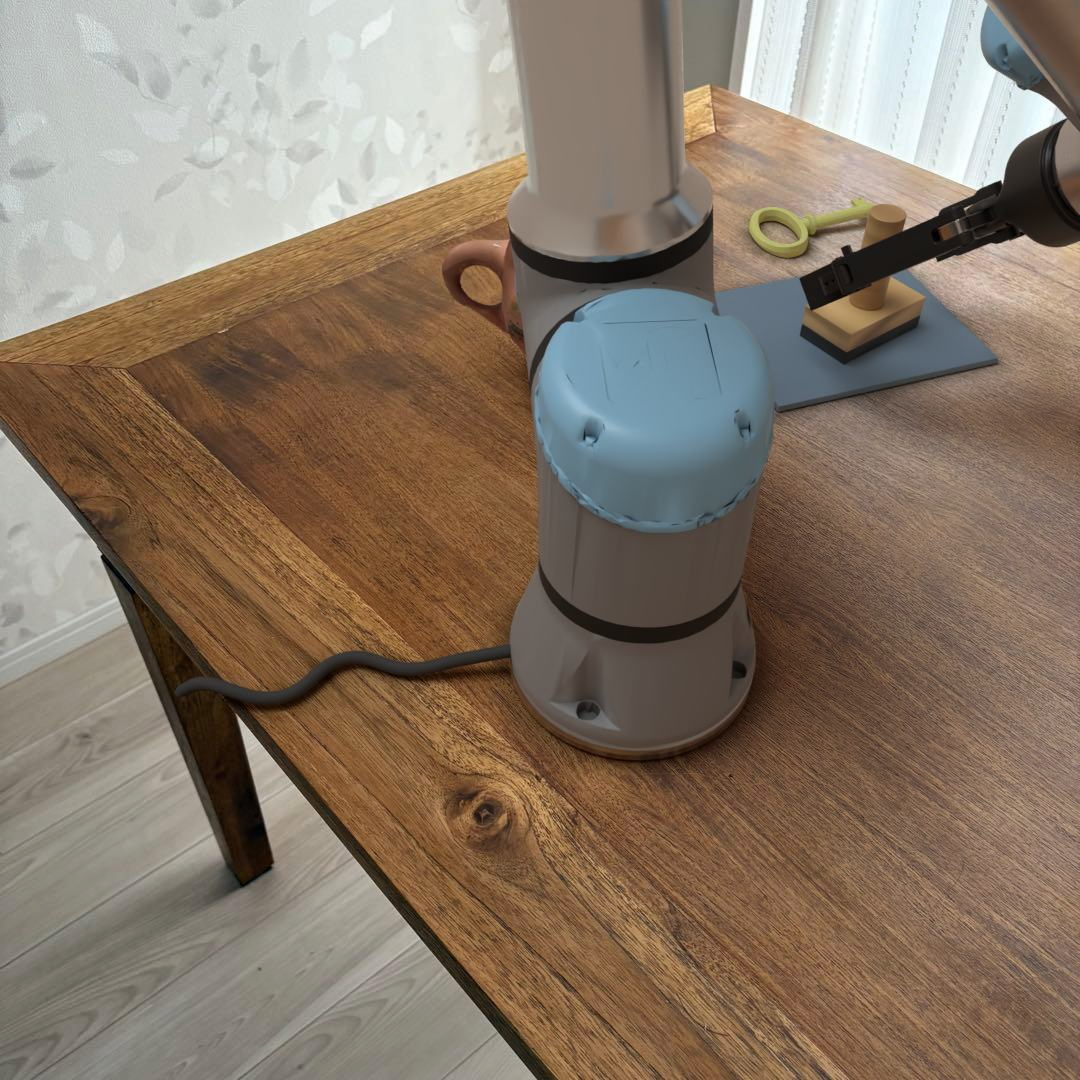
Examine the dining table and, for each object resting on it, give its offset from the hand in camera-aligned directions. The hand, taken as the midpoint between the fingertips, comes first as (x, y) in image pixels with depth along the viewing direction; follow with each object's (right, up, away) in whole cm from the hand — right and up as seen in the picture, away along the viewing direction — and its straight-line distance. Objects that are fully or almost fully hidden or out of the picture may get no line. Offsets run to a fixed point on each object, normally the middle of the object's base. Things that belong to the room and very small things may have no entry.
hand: (873, 268), depth 89 cm
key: (-1, +7, +17) cm, 18 cm away
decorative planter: (-24, -9, +1) cm, 26 cm away
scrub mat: (-1, -4, +5) cm, 7 cm away
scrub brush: (0, -4, +4) cm, 6 cm away
